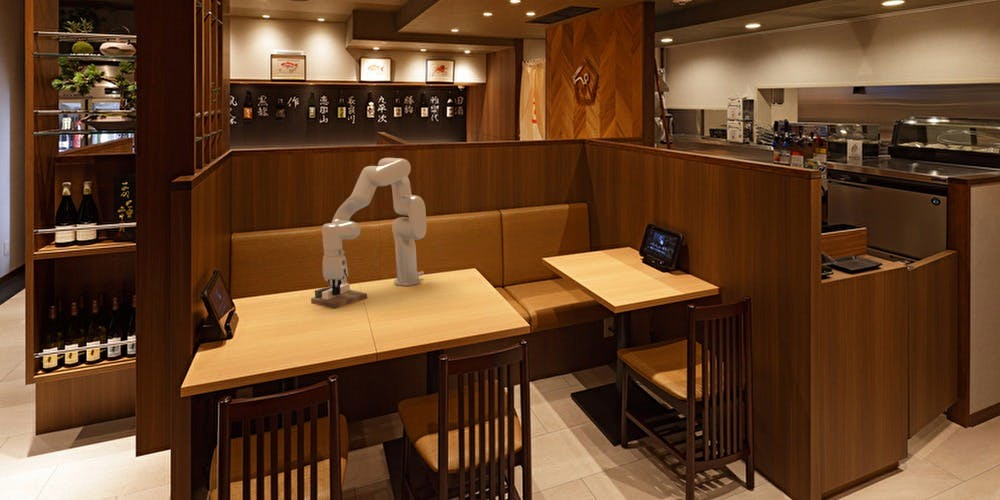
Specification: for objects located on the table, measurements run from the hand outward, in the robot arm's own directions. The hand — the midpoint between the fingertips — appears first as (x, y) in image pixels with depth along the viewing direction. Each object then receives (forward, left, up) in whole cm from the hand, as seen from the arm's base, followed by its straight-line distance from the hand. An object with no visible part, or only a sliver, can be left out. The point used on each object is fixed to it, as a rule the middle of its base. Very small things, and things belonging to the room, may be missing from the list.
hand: (336, 294), depth 241 cm
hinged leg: (-3, -4, -1) cm, 5 cm away
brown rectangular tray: (-3, -2, -4) cm, 5 cm away
